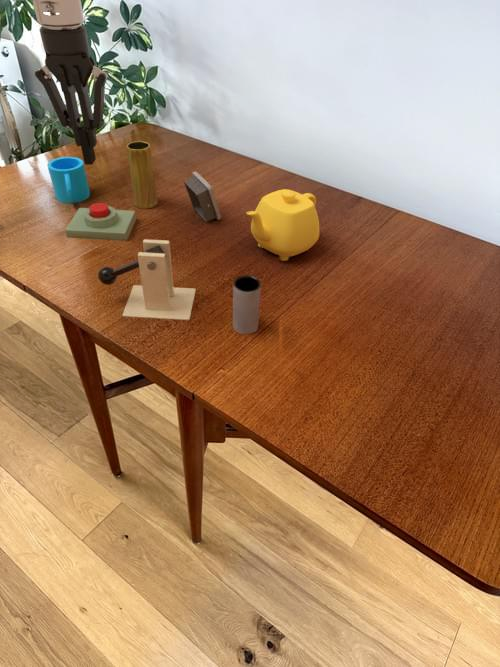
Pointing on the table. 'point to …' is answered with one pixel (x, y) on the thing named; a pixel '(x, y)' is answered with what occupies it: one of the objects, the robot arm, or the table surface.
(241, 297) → the gray hollow cylinder
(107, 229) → the button base
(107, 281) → the lever
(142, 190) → the vase
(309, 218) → the teapot
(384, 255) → the table surface
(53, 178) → the mug
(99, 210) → the button
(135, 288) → the bracket
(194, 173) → the electrical switch
